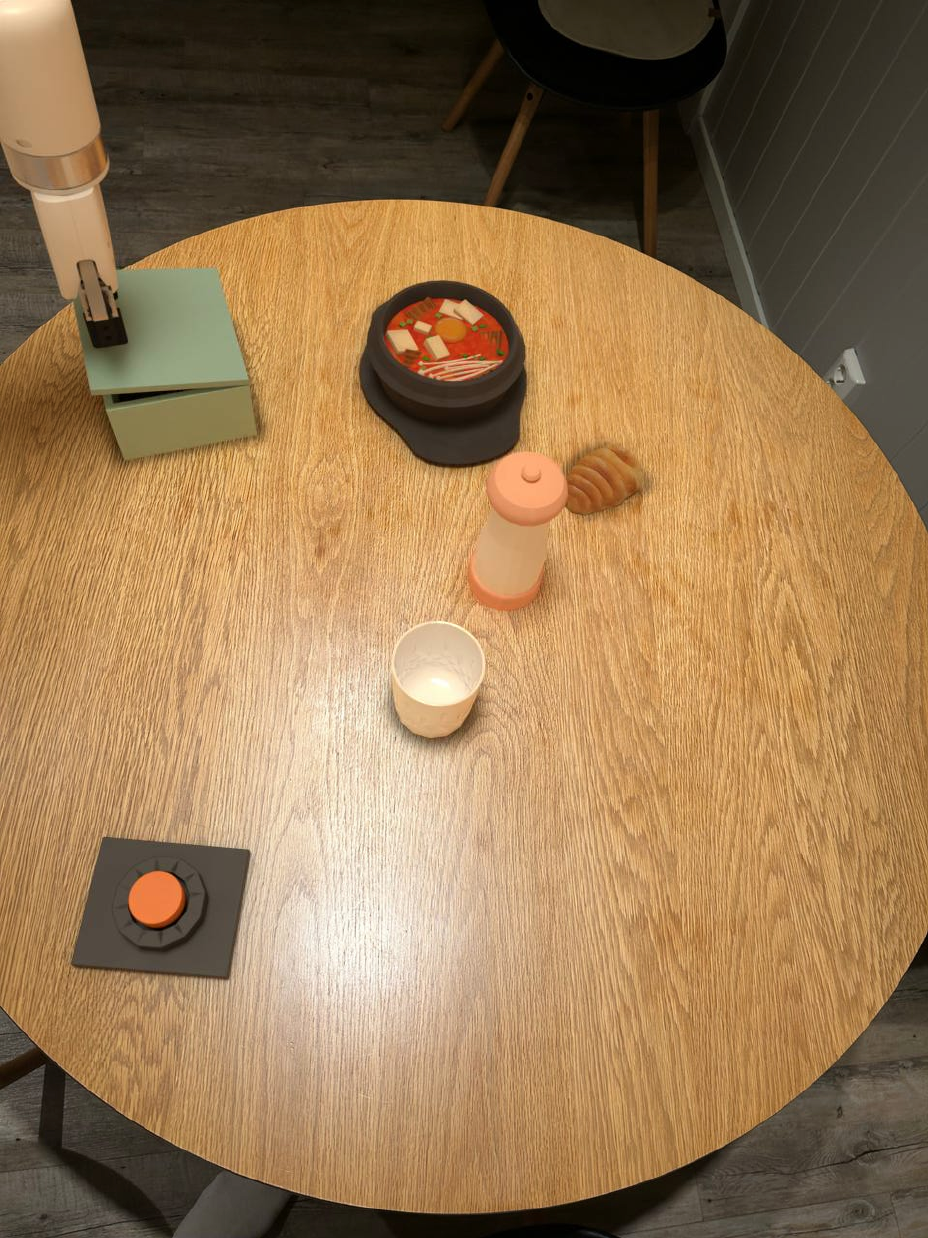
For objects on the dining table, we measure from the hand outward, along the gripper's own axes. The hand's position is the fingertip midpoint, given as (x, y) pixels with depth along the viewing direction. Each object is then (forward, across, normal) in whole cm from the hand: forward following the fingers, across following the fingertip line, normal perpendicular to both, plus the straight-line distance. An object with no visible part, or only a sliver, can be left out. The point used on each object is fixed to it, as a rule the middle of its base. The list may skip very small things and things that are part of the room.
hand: (105, 320), depth 89 cm
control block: (+13, +53, -6) cm, 55 cm away
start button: (+9, +53, -6) cm, 54 cm away
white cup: (+12, +42, +20) cm, 48 cm away
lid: (+2, 0, +4) cm, 5 cm away
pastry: (+11, +23, +45) cm, 52 cm away
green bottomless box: (+12, 0, +5) cm, 13 cm away
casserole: (+12, +5, +33) cm, 36 cm away
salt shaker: (+12, +31, +31) cm, 46 cm away
